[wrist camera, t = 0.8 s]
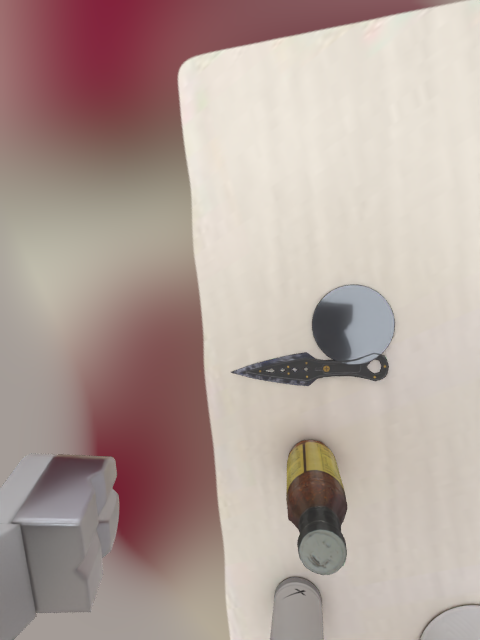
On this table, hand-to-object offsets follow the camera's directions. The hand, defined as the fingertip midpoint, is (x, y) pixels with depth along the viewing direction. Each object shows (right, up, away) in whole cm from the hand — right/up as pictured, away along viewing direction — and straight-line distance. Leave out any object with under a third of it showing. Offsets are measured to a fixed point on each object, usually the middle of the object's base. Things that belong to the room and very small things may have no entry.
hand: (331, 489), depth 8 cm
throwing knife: (+7, -3, +46) cm, 47 cm away
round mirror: (+12, +3, +45) cm, 46 cm away
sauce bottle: (+8, -15, +47) cm, 50 cm away
